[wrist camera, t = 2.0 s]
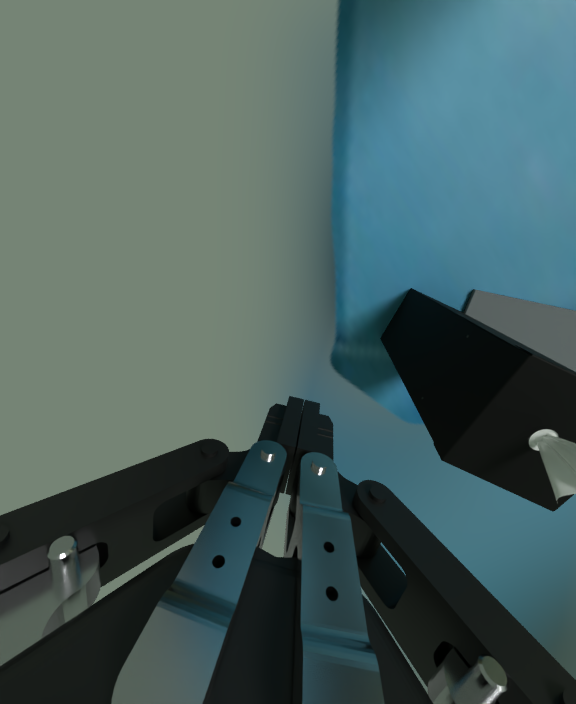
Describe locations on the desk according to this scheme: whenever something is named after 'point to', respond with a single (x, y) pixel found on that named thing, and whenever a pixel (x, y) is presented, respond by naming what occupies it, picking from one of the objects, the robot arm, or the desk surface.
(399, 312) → the black rectangular bar
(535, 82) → the desk surface
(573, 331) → the rubber mat
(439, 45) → the desk surface
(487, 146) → the desk surface
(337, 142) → the desk surface
